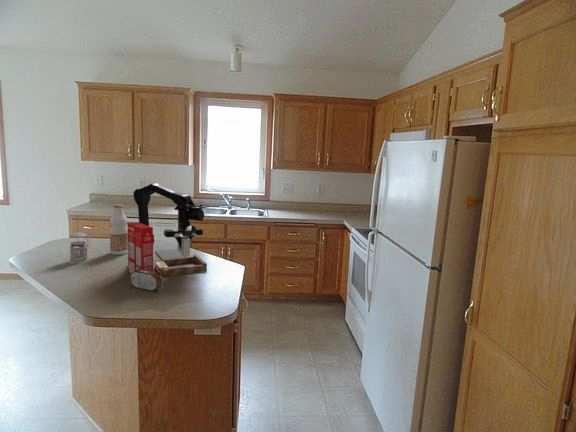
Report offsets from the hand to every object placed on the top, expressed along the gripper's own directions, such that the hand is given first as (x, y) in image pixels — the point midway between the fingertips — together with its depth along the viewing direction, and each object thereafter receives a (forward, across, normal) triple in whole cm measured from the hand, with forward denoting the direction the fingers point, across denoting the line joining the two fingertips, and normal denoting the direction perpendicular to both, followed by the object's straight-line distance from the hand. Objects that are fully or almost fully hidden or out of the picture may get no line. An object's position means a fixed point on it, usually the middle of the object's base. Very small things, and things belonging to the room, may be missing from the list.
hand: (183, 248), depth 195 cm
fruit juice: (+11, -26, +40) cm, 49 cm away
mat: (+10, 0, +26) cm, 28 cm away
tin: (+11, -23, -23) cm, 34 cm away
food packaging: (+11, -22, -5) cm, 25 cm away
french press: (+11, -46, +32) cm, 57 cm away
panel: (+3, 0, 0) cm, 3 cm away
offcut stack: (+11, -11, 0) cm, 15 cm away
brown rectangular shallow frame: (+10, -2, 0) cm, 11 cm away
